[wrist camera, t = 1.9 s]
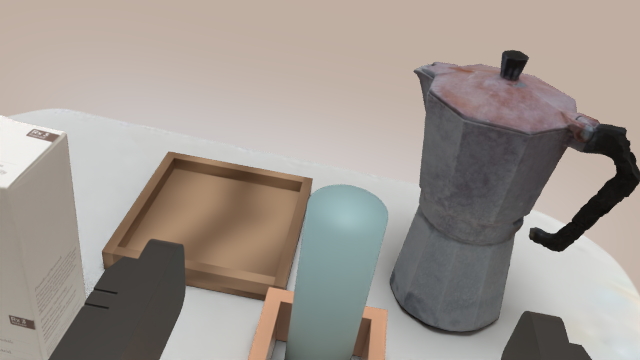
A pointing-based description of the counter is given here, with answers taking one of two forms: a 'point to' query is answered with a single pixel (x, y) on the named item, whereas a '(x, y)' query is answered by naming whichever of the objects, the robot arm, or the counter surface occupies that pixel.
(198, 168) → the tray
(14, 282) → the skincare box
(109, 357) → the robot arm
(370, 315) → the square terracotta collar
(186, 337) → the counter surface
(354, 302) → the dowel pin
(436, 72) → the moka pot
